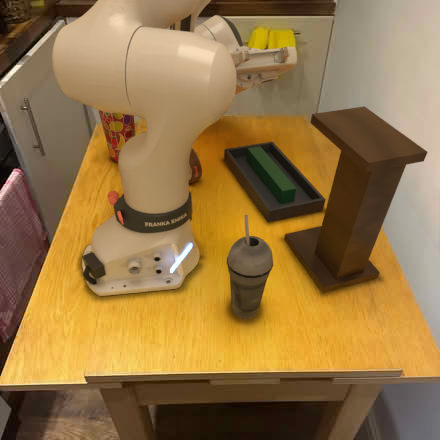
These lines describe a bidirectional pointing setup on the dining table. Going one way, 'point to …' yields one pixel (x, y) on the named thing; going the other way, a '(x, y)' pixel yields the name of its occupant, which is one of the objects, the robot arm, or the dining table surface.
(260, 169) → the long green square beam
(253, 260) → the beverage cup
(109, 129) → the smoothie
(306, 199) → the tray
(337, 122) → the stand
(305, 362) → the dining table surface
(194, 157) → the tin
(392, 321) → the dining table surface
